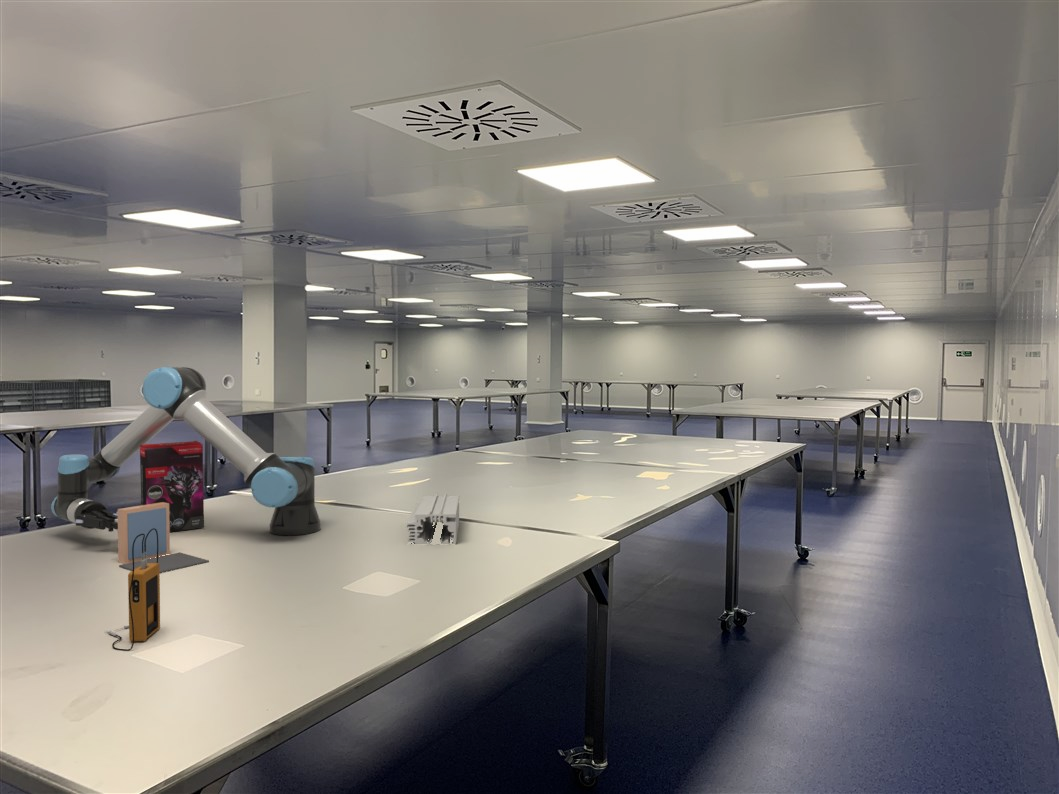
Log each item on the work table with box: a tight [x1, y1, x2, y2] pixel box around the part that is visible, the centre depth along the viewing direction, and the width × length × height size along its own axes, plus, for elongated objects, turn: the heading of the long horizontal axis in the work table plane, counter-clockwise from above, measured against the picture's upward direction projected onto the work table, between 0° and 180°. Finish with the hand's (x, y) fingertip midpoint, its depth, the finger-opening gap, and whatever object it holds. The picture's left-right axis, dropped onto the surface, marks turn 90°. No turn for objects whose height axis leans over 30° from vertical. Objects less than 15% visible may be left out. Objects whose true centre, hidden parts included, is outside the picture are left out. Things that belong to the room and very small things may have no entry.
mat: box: [118, 552, 210, 574], centre depth 187 cm, size 14×16×1 cm
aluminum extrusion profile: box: [405, 492, 460, 544], centre depth 225 cm, size 14×31×10 cm, turn 4°
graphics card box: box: [139, 440, 205, 533], centre depth 225 cm, size 17×7×27 cm, turn 132°
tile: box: [117, 502, 171, 565], centre depth 193 cm, size 3×12×14 cm, turn 145°
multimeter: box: [104, 528, 161, 652], centre depth 137 cm, size 15×10×20 cm
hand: (129, 527), depth 196 cm, fingers closed
